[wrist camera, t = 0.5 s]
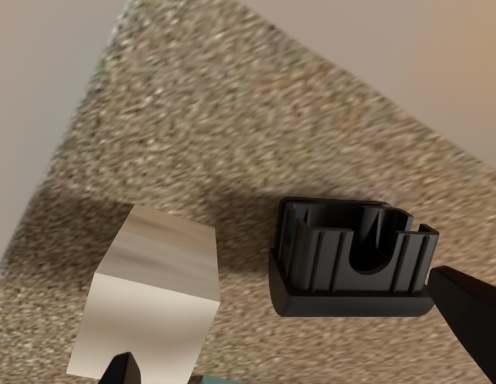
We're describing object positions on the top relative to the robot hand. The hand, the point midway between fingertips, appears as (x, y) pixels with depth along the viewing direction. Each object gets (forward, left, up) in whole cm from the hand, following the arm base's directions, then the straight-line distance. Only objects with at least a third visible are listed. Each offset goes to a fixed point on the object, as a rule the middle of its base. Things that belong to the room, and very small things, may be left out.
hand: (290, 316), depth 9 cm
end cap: (-3, -9, -15) cm, 18 cm away
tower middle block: (-7, +3, -11) cm, 13 cm away
